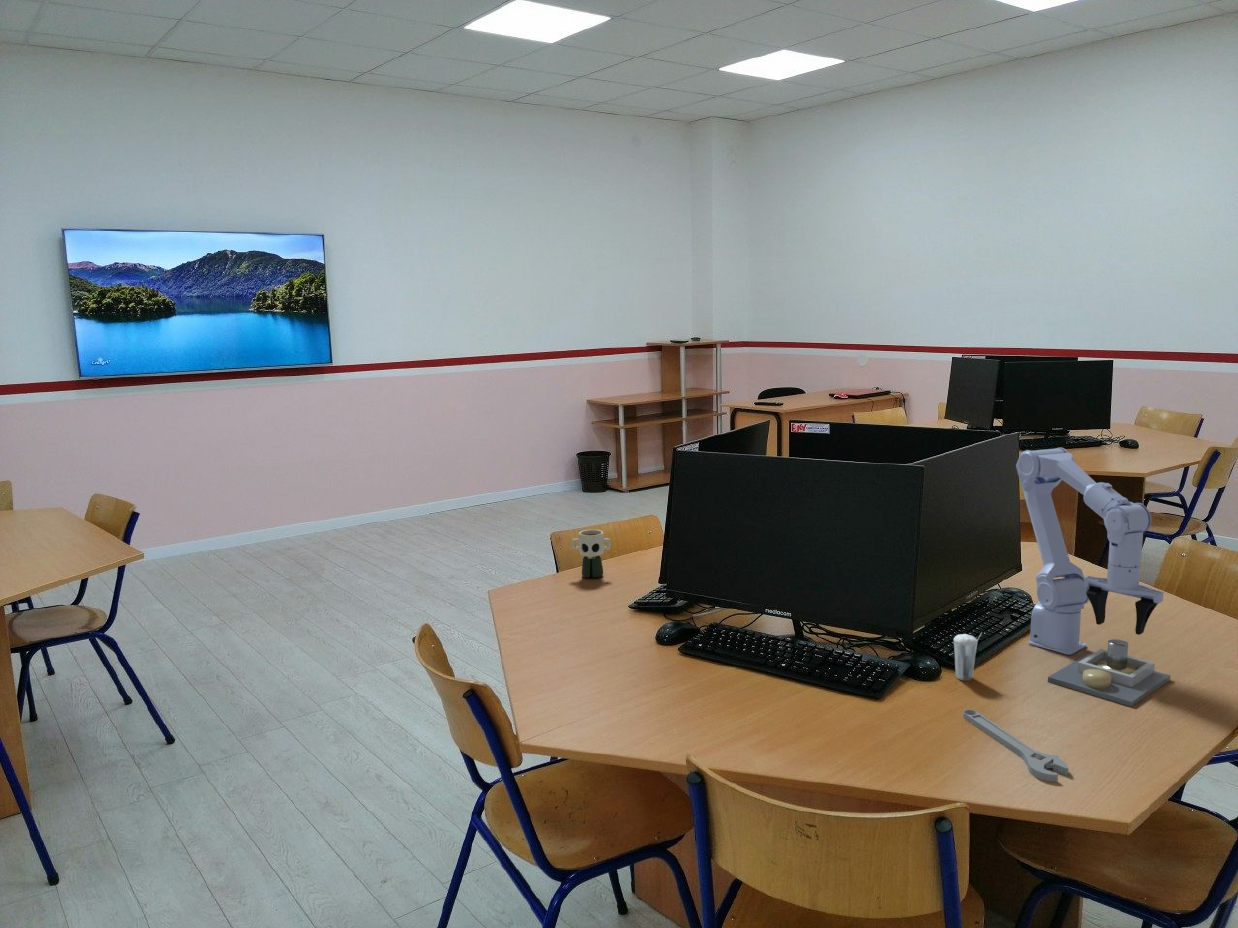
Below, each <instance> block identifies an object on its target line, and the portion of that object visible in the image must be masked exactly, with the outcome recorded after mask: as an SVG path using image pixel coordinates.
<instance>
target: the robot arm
mask: <svg viewBox="0 0 1238 928" xmlns="http://www.w3.org/2000/svg"><path fill="white" fill-rule="evenodd" d="M1074 459H1075V458H1074V455H1073V454H1072V453H1070V452H1069V451H1068V450H1067V449H1066V448H1064V447H1057V448H1056V447H1055V448H1048V449H1037V450H1029V449H1026V450H1024V451H1022V452H1021V454H1020V455H1019V456H1018V459H1017V462H1016V464H1015V467H1016V472H1017V475H1018V479H1019V482H1020V487H1021V489H1022V492H1023V496H1024V499H1025V502H1026V503H1025V504H1026V507H1027V511H1028V514H1029V518H1030V521H1031V525H1032V529H1033V532H1034V536H1035V539H1036V543H1037V547H1038V550H1039V554H1040V557H1041V561H1042V565H1043V567H1042V568H1041V570H1040V571H1039V572H1038V573H1037V575H1036V576H1035V581H1036V597H1037V599H1038V603H1036V604H1035V605H1034V607H1033V609H1032V612H1031V618H1030V634H1029V641H1028V644H1029V645H1032V646H1036V647H1039V648H1043V649H1046V650H1050V651H1054V652H1057V653H1061V654H1064V655H1068V656H1071V655H1074V654H1075V653H1077V652H1079V651H1080V650H1082V649H1084V648H1085V647H1087V643H1085V642H1081V641H1080V636H1081V635H1080V634H1081V631H1080V630H1081V618H1082V617H1081V616H1082V610H1084V609H1085V605H1086V604H1088V602H1090V604H1091V606H1092V607H1091V608H1092V610H1093V614H1094V617H1095V618H1094V619H1095V623H1096V625H1099V626H1100V625H1102V624H1104V623H1105V621H1106V608H1107V600H1108V596H1109V592H1111V593H1116V594H1119V595H1124V596H1129V597H1133V598H1138V599H1139V600H1136V601H1135V602H1134V603H1135V604H1134V606H1135V613H1136V620H1135V621H1136V623H1135V629H1134V630H1135V635H1139V636H1140V635H1142V634H1144V632H1145V628H1146V625H1147V622H1148V620H1149V619H1150V616H1151V615H1152V613H1153V612H1154V611H1155V608H1156V607H1157V606H1158V605H1159V604H1161V603H1162V602H1164V591H1160V590H1156V589H1153V588H1150V587H1147V586H1146V585H1145V586H1144V585H1141V584H1140V578H1141V566H1142V551H1143V539H1144V533H1145V532H1147V531H1148V530H1149V529H1150V527H1151V525H1152V516H1151V512H1150V511H1149V509H1148V508H1147V506H1145V505H1144V504H1143V503H1142V502H1135V503H1134V502H1132V501H1129V500H1128V498H1127V497H1124V496H1122V494H1120V493H1119V492H1118V491H1116V490H1115V489H1113V485H1112V484H1110V483H1109V482H1103V481H1101V482H1096V481H1095V480H1094V479H1093V478H1092V477H1091V476H1090V475H1089V474H1087V472H1086V471H1084V470H1083V469H1082V467H1080V466H1079V465H1078V464H1077V463H1076V462H1075V460H1074ZM1062 481H1063V482H1064V483H1066V484H1068V485H1069V486H1070V487H1072V488H1073V489H1075V490H1076V491H1077V492H1079V493H1080V494H1081V495H1083V502H1084V503H1085V505H1086V506H1087V507H1088V508H1090V509H1091V510H1092V511H1093V512H1095V514H1097V515H1098V516H1099V517H1101V518H1102V519H1103V523H1104V527H1105V529H1106V531H1107V535H1106V536H1107V539H1108V541H1109V545H1108V546H1109V547H1108V549H1109V550H1108V561H1107V562H1108V563H1107V576H1106V578H1104V577H1097V576H1096V577H1095V576H1091V575H1087V576H1085V575H1084V573H1083V570H1082V568H1080V567H1079V566H1077V565H1076V564H1074V563H1073V562H1071V561H1070V557H1069V554H1068V549H1067V546H1066V542H1065V539H1064V536H1063V532H1062V528H1061V525H1060V522H1059V518H1058V515H1057V512H1056V511H1057V510H1056V507H1055V505H1054V500H1053V497H1052V492H1053V490H1054V488H1056V487H1057V486H1058V485H1059V484H1060V483H1061V482H1062Z"/></svg>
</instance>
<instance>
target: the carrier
mask: <svg viewBox="0 0 1238 928" xmlns="http://www.w3.org/2000/svg"><path fill="white" fill-rule="evenodd" d="M1107 651H1108V649H1103V648H1100V649H1099V650H1097V651H1095V652H1093V653H1090V652H1089V653H1087V654H1085V655H1083V656H1082V657H1080V658H1078V659H1077V660H1075V661H1072V662H1070V664H1068V665H1066V666H1064V667H1062V668H1060V669H1058V671H1056V672H1054V673H1052V674H1051V675H1049V676H1047V682H1049V683H1052V684H1055V685H1057V686H1058V685H1059V686H1062V687H1064V688H1069V689H1071V690H1074V691H1078V692H1081V693H1084V694H1088V695H1091V696H1094V697H1097V698H1100V699H1105V700H1108V701H1111V702H1113V703H1118V704H1121V705H1124V706H1127V707H1130V708H1132V707H1133V706H1135V705H1136V704H1138V703H1139V702H1140V701H1142V700H1144V699H1145V698H1146V697H1148V696H1149V695H1150V694H1152V693H1154V692H1155V691H1157V690H1158V689H1159V688H1161V687H1162V686H1164V685H1165V684H1166V683H1168V682H1169V681H1170V680H1171V675H1170V674H1167V673H1164V672H1160V671H1156V670H1155V666H1156V664H1155V663H1156V662H1153V661H1150V660H1149V661H1148V660H1146V659H1142V658H1137V657H1135V656H1129V655H1128V656H1127V662H1128V663H1130V664H1132V665H1134V666H1135V667H1136V671H1134V672H1133V673H1131V674H1125V673H1122V672H1118V671H1114V670H1111V669H1107V668H1104V667H1100V666H1097V662H1098V661H1100V660H1105V659H1107Z"/></svg>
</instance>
